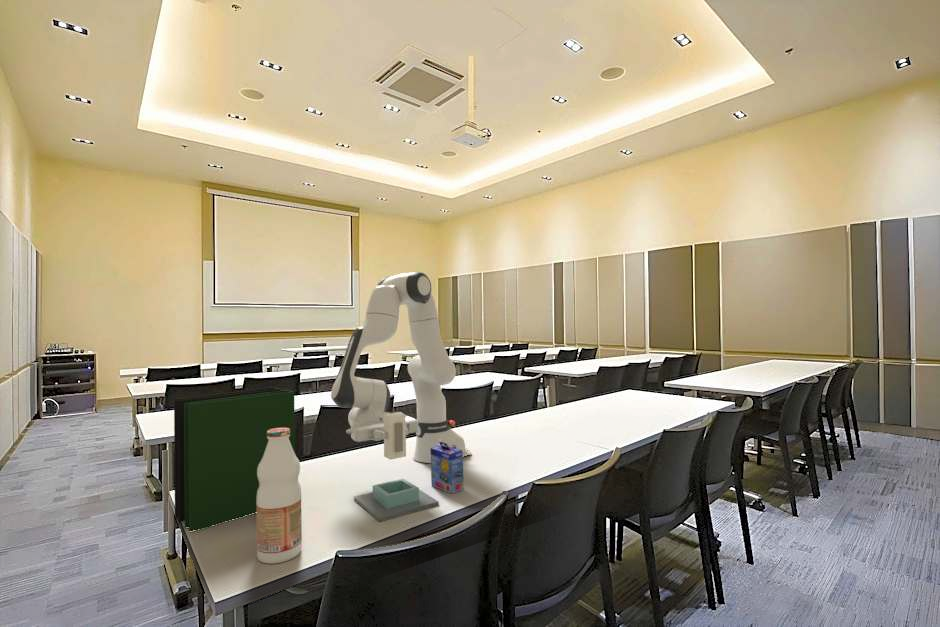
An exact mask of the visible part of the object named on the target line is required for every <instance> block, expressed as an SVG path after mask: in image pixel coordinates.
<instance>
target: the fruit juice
mask: <svg viewBox="0 0 940 627" xmlns="http://www.w3.org/2000/svg"><path fill="white" fill-rule="evenodd" d="M289 436H290V429H289V428H274V429H270V430H268V431H267V439H268V443H267V446H266V449H265V452H264V455H263V458H262V460H261V462H260V463H259V465H258V468H257V478H258V481H259V488H258V490H257V497H256V510H257V513H256V557H257V560H258V561H259V562H260V563H263V564H270V565H271V564H273V565H275V564H280V563H285V562H287V561H290V560H293V559H294V558H295V557H297V556H298V555H299V554H300V553H301V550H302V545H303V544H302V541H303V540H302V537H303V532H302V530H303V529H302V487H301V484H300V481H299V476H300V472H301V464H300V463H301V461H300V460H299V458H298V457H297V455H296V452H295V453H294V451H293V448H292V446H291V443H290V441H289Z"/></svg>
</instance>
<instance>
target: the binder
mask: <svg viewBox="0 0 940 627" xmlns="http://www.w3.org/2000/svg"><path fill="white" fill-rule="evenodd" d="M173 420H174V421H173V422H174V424H173V428H174V430H173V431H174V432H173V434H174V435H173V436H174V439H173V440H174V442H173V444H174V445H173V446H174V447H173V448H174V451H173V452H174V454H173V455H174V519H175V520H176V519H178V523H182V522H184V529H185V528H186V527H189V528H188V532H189V531H193V530H198V529H201V530H203V529H202V528H205V529H207V528H206V527H208V528H211V527H213V526H212V525H215V526H217V525H216V524H218V525H220V524H219V523H221V524H223V523H222V522H225V521H228V522H230V521H229V520H231V521H233V520H232V519H235V520H237V519H236V518H238V519H240V518H239V517H242V518H244V517H243V516H245V515H248V516H250V515H249V514H252V513H255V512H257V510H256V497H257V490H258V488H259V481H258V478H257V468H258V465H259V463H260V462H261V460H262V458H263V455H264V452H265V449H266V446H267V443H268V439H267V431H268V430H270V429H274V428H289V429H290V436H289V441H290V443H291V446H292V448H293V451H294V453H295V454H296V449H295V447H296V444H295V443H296V441H295V440H296V438H295V436H296V435H295V429H296V428H295V391H294V390H293V391H292V390H288V389H283V390H281V388H278V387H274V386H273V387H266V388H256V389H247V390H239V391H233V392H224V393H216V394H215V393H214V394H207V395H199V396H192V397H191V396H190V397H183V398H182V397H181V398H175V399H173ZM255 514H256V513H255ZM252 515H253V514H252ZM245 517H246V516H245ZM225 523H226V522H225ZM210 526H211V527H210ZM198 531H199V530H198Z"/></svg>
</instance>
